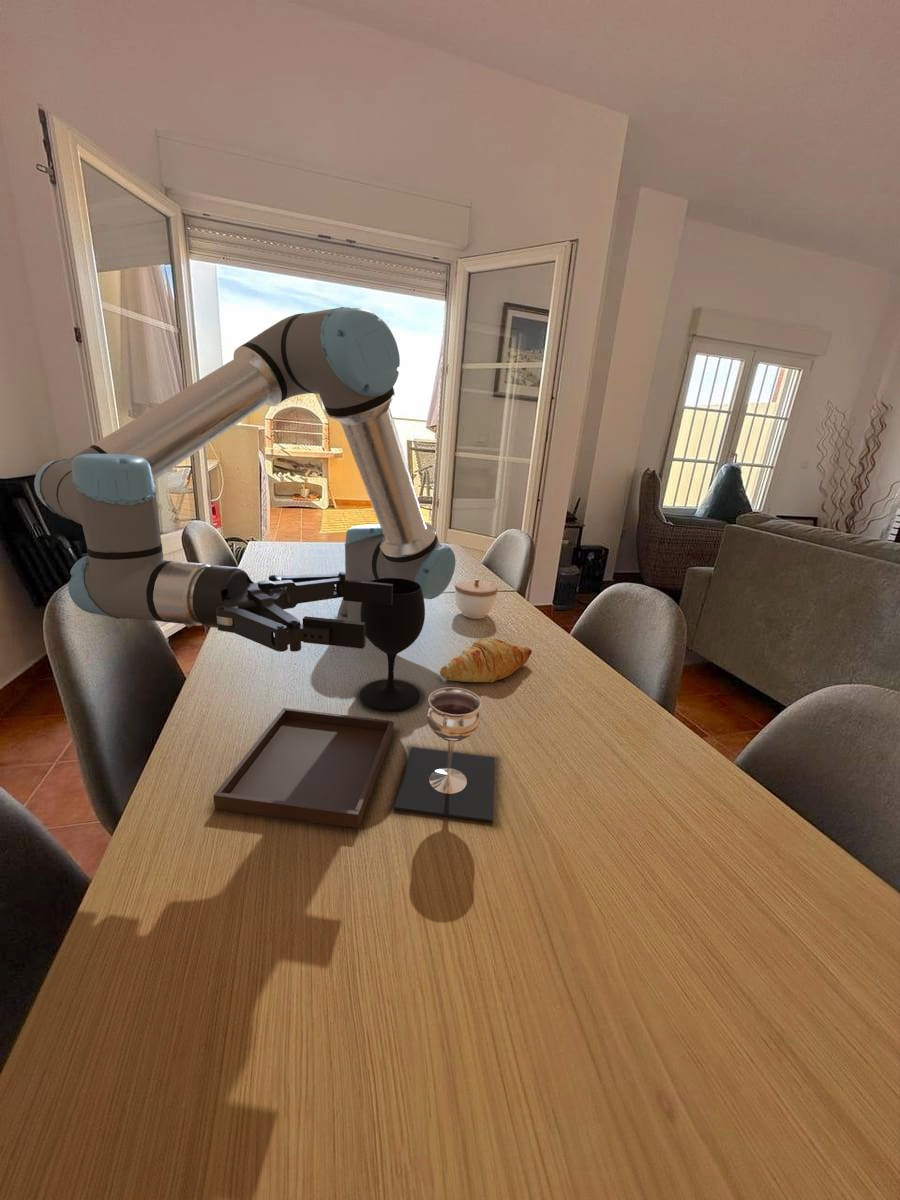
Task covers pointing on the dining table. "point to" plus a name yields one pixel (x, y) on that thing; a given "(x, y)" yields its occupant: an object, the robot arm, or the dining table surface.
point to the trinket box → (475, 597)
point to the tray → (309, 768)
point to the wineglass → (452, 730)
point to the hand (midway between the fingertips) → (380, 612)
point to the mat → (463, 804)
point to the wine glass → (393, 642)
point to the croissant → (486, 662)
